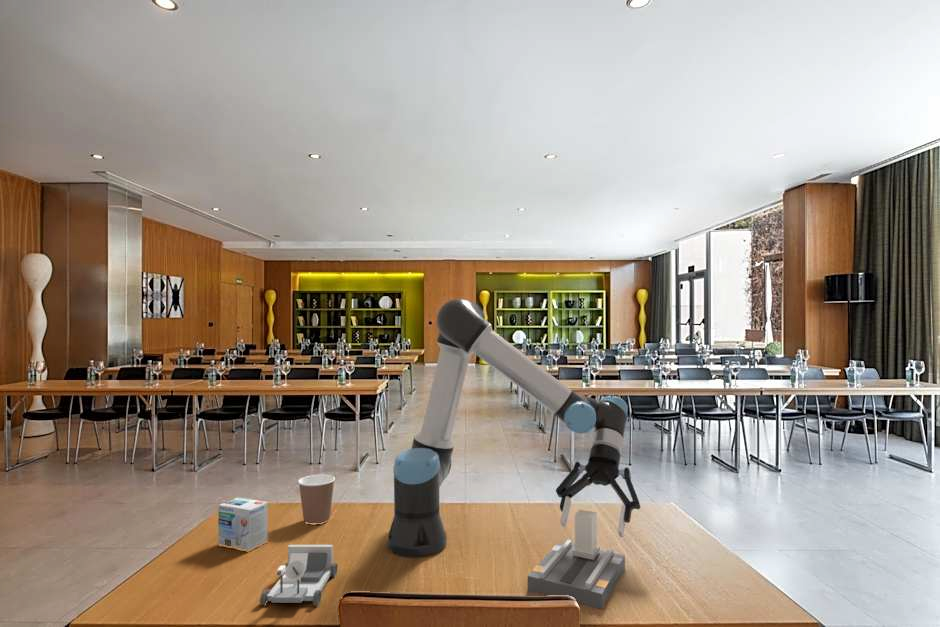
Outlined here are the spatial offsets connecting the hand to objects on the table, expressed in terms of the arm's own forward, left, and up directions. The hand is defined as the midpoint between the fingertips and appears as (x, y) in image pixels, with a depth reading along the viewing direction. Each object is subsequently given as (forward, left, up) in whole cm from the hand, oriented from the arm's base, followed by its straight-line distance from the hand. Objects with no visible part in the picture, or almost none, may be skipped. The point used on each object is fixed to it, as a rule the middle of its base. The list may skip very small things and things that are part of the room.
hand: (590, 529), depth 125 cm
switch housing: (-1, -7, -9) cm, 11 cm away
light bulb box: (-83, -30, -9) cm, 89 cm away
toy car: (-52, -41, -9) cm, 66 cm away
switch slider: (-1, -1, -5) cm, 5 cm away
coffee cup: (-78, -9, -9) cm, 79 cm away
